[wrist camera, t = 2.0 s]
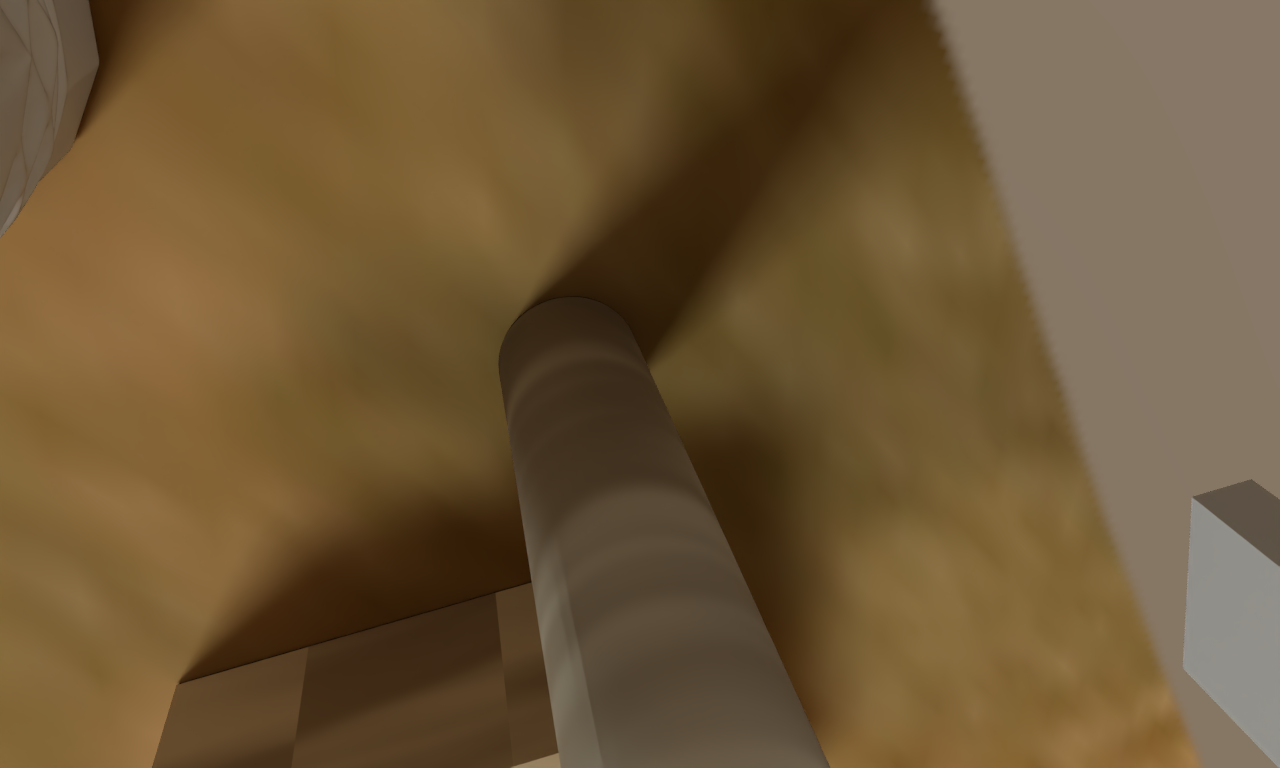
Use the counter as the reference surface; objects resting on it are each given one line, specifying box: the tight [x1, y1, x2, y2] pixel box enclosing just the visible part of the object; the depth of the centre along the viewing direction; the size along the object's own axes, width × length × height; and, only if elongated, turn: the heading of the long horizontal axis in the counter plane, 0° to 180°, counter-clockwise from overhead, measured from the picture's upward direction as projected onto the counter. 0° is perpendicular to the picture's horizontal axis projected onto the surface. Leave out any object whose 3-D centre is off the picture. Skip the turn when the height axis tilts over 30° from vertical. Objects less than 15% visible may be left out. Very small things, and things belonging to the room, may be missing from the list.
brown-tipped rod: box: [499, 297, 830, 768], centre depth 14 cm, size 3×3×16 cm
